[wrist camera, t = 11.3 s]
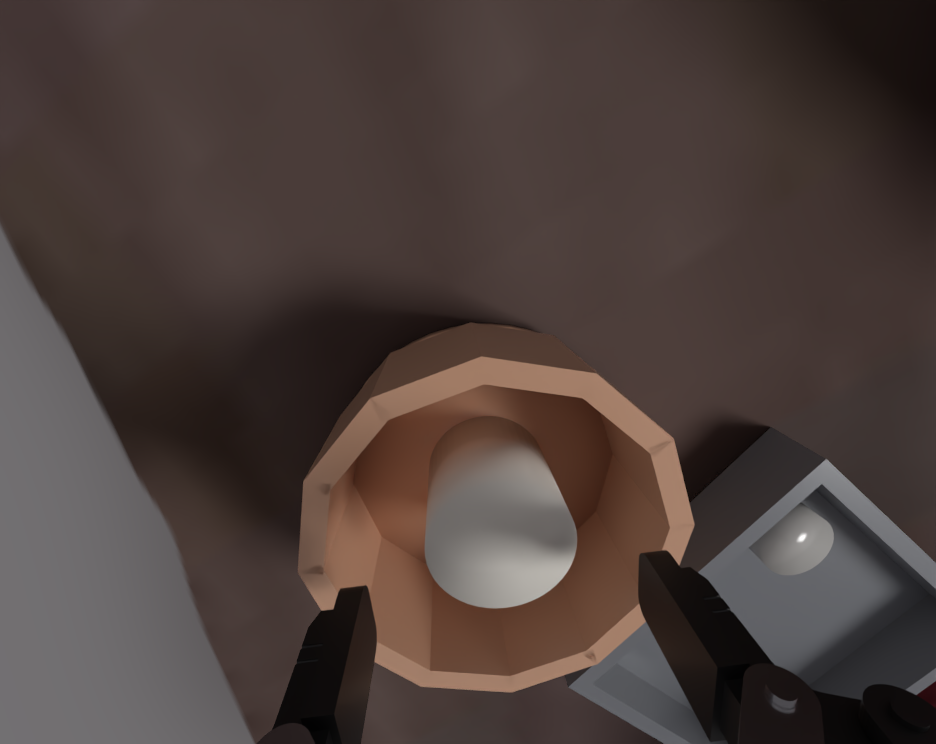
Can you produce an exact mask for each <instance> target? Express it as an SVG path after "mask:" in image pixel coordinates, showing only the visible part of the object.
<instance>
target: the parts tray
mask: <svg viewBox="0 0 936 744" xmlns="http://www.w3.org/2000/svg"><path fill="white" fill-rule="evenodd" d="M800 502H801V503H803V504H804V505H806V506H807V507H808V508H810V509H811V510H812V511H814V512H815V513H816V514H818V515H819V516H821V517H822V518H823V519H825V520H826V521H827V522H828V523H829V524H830V525H831V527H832V529H833V533H834V540H833V544H832V547H831V549H830V551H829V553H828V554H827V556H826V557H825V558H824V559H823V560H822V561H821V562H820V563H819V564H818V565H816V566H815V567H813V568H812V569H810V570H808V571H806V572H803V573H800V574H796V575H780V574H777V573H775V572H773V571H771V570H770V569H769V568H768V567H767V566H766V565H765V564H764V563H763V562H762V561H761V560H760V559H759V558H758V557H757V556H756V555H755V554H754V553H753V552H752V551H751V550H750V549H749V547H750V546H751V545H752V544H753V543H755V542H756V541H757V540H758V539H759V538H760V537H761V536H763V535H764V534H765V533H766V532H767V531H768V530H769V529H771V528H772V527H773V526H774V525H775V524H776V523H777V522H779V521H780V520H781V519H782V518H783V517H784V516H785V515H787V514H788V513H789V512H790V511H791V510H792V509H794V508H795V507H796V506H797V505H798V504H799V503H800ZM690 507H691V512H692V516H693V520H694V524H695V525H694V528H693V531H692V533H691V536H690V539H689V541H688V544H687V547H686V549H685V552H684V555H683V557H682V560H681V563H680V565H679V566H680V567H681V568H685V567H691V568H692V569H694V570H695V571H697V572H698V573H699V574H701V575H702V576H704V577H705V578H706V579H708V580H709V582H710V583H711V584H712V586H713V587H714V588H715V589H716V591H717V592H718V593H719V595H720V597H721V599H722V598H723V600H724V601H725V602H726V604H727V605H728V606H729V607H730V610H731V612H734V614H735V615H736V616H737V618H738V619H739V620H740V621H741V623H742V624H743V625H744V627H745V628H746V629H747V630H748V632H749V633H750V634H751V636H752V637H753V638H754V639H755V641H756V642H757V643H758V645H759V646H760V647H761V648H762V650H763V651H764V652H765V654H766V655H767V656H768V657H769V659H770V660H771V661H772V662H773V663H774V665H776V666H779V667H782V668H784V669H786V670H788V671H790V672H792V673H794V674H795V675H797V676H798V677H799V678H801V679H802V680H803V681H804V682H805V683H806V684H807V685H808V686H809V687H810V688H811V689H812V690H815V691H819V692H823V693H827V694H833V695H838V696H844V697H849V698H854V699H860V700H861V699H862V695H863V692H864V690H865V689H866V688H867V687H868V686H871V685H874V684H887V685H892V686H896V687H899V688H902V689H904V690H907V691H909V692H911V693H913V694H915V695H917V694H918V693H920V692H921V691H923V690H924V689H925V688H927V687H928V686H930V685H931V684H932V683H934V682H935V681H936V563H935V562H934V561H933V560H932V559H931V558H930V557H929V556H928V555H927V554H926V553H925V552H924V551H922V550H921V549H920V548H919V547H918V546H917V545H916V544H915V543H914V542H913V541H912V540H911V539H910V538H909V537H908V536H907V535H906V534H905V533H904V532H902V531H901V530H900V529H899V528H898V527H897V526H896V525H895V524H894V523H893V522H892V521H891V520H890V519H889V518H888V517H887V516H886V515H885V514H884V513H882V512H881V511H880V510H879V509H878V508H877V507H876V506H875V505H874V504H873V503H872V502H871V501H870V500H869V499H868V498H867V497H866V496H865V495H863V494H862V493H861V492H860V491H859V490H858V489H857V488H856V487H855V486H854V485H853V484H852V483H851V482H850V481H849V480H848V479H847V478H846V477H845V476H843V475H842V474H841V473H840V472H839V471H838V470H837V469H836V468H835V467H834V466H833V465H832V464H831V463H830V462H829V461H828V460H827V459H825V458H823V457H822V456H820V455H818V454H817V453H815V452H813V451H811V450H810V449H808V448H806V447H804V446H803V445H801V444H799V443H798V442H796V441H794V440H792V439H791V438H789V437H787V436H786V435H784V434H782V433H780V432H779V431H777V430H775V429H773V428H772V427H771V428H769V429H768V430H767V431H766V432H765V433H764V434H763V435H762V436H761V437H760V438H759V439H758V440H757V441H756V442H754V443H753V444H752V445H751V446H750V447H749V448H748V449H747V450H746V451H745V452H744V453H743V454H742V455H741V456H739V457H738V458H737V459H736V460H735V461H734V462H733V463H732V464H731V465H730V466H729V467H728V468H727V469H725V470H724V471H723V472H722V473H721V474H720V475H719V476H718V477H717V478H716V479H715V480H714V481H713V482H712V483H710V484H709V485H708V486H707V487H706V488H705V489H704V490H703V491H702V492H701V493H700V494H699V495H698V496H697V497H695V498H694V499H693V500H692V501H691V502H690ZM565 677H566V681H567V685H568V687H569V688H571V689H572V690H574V691H576V692H577V693H579V694H581V695H582V696H584V697H586V698H587V699H589V700H591V701H593V702H594V703H596V704H598V705H599V706H601V707H603V708H604V709H606V710H608V711H610V712H611V713H613V714H615V715H616V716H618V717H620V718H621V719H623V720H625V721H626V722H628V723H630V724H632V725H633V726H635V727H637V728H638V729H640V730H642V731H643V732H645V733H647V734H649V735H650V736H652V737H654V738H655V739H657V740H659V741H660V742H662V743H664V744H728V742H727V741H726V740H724V741H716V742H710V741H709V739H708V737H707V735H706V733H705V732H704V730H703V728H702V726H701V724H700V722H699V720H698V718H697V717H696V715H695V713H694V711H693V709H692V707H691V705H690V703H689V702H688V700H687V698H686V696H685V694H684V692H683V690H682V688H681V686H680V685H679V683H678V681H677V679H676V677H675V675H674V673H673V671H672V670H671V668H670V666H669V664H668V662H667V660H666V658H665V656H664V654H663V653H662V651H661V649H660V647H659V645H658V643H657V641H656V639H655V638H654V636H653V634H652V632H651V630H650V628H649V626H648V624H647V622H645V623H644V624H643V625H642V626H640V627H639V628H638V629H637V630H636V631H635V632H634V633H632V634H631V635H630V636H629V637H628V638H627V639H626V640H624V641H623V642H622V643H621V644H620V645H619V646H618V647H617V648H615V649H614V650H613V651H612V652H611V653H610V654H609V655H607V656H606V657H605V658H604V659H603V660H602V661H601V662H600V663H598V664H596V665H593V666H590V667H587V668H584V669H581V670H578V671H575V672H572V673H569V674H566V675H565Z"/></svg>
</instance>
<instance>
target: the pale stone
mask: <svg viewBox="0 0 936 744" xmlns="http://www.w3.org/2000/svg"><path fill="white" fill-rule="evenodd" d="M576 549H577V531H576V527H575V523H574V521H573V518H572V516H571V514H570V512H569V510H568V507H567V505H566V503H565V501H564V499H563V497H562V494H561V492H560V490H559V488H558V486H557V484H556V481H555V479H554V477H553V475H552V473H551V471H550V468H549V466H548V464H547V462H546V460H545V458H544V455H543V453H542V451H541V449H540V447H539V445H538V443H537V441H536V440H535V438H534V437H533V436H532V434H531V433H530V432H529V431H528V430H527V429H525V428H524V427H523V426H521V425H520V424H518V423H516V422H514V421H512V420H509V419H506V418H502V417H496V416H481V417H475V418H471V419H468V420H465V421H463V422H461V423H459V424H457V425H455V426H454V427H452V428H451V429H450V430H448V431H447V432H446V433H445V434H444V435H443V436H442V437H441V438H440V440H439V441H438V442H437V444H436V446H435V447H434V449H433V452H432V454H431V458H430V464H429V478H428V496H427V514H426V532H425V558H426V563H427V566H428V569H429V571H430V573H431V575H432V577H433V578H434V580H435V581H436V582H437V584H438V585H439V586H440V587H441V588H442V589H443V590H444V591H445V592H447V593H448V594H450V595H451V596H452V597H454V598H456V599H458V600H460V601H462V602H464V603H467V604H470V605H474V606H478V607H484V608H508V607H514V606H518V605H522V604H525V603H528V602H530V601H533V600H535V599H537V598H539V597H541V596H542V595H544V594H545V593H547V592H548V591H550V590H551V589H552V588H553V587H555V586H556V585H557V584H558V583H559V582H560V581H561V580H562V579H563V577H564V576H565V574H566V573H567V572H568V570H569V568H570V566H571V564H572V562H573V560H574V557H575V553H576Z"/></svg>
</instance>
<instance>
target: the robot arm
mask: <svg viewBox="0 0 936 744" xmlns="http://www.w3.org/2000/svg"><path fill="white" fill-rule="evenodd" d="M638 599H639V604H640V608H641V611H642V614H643V616H644V619H645V621H646V622H647V624H648V626H649V628H650V630H651V632H652V634H653V636H654V638H655V639H656V641H657V643H658V645H659V647H660V649H661V651H662V653H663V654H664V656H665V658H666V660H667V662H668V664H669V666H670V668H671V670H672V671H673V673H674V675H675V677H676V679H677V681H678V683H679V685H680V686H681V688H682V690H683V692H684V694H685V696H686V698H687V700H688V702H689V703H690V705H691V707H692V709H693V711H694V713H695V715H696V717H697V718H698V720H699V722H700V724H701V726H702V728H703V730H704V732H705V733H706V735H707V737H708V739H709V741H710V742H716V741H724V740H726V741H727V742H728V744H936V708H935V707H933V706H932V705H931V704H930V703H928V702H927V701H925V700H924V699H922V698H920V697H919V696H917V695H915V694H913V693H911V692H909V691H907V690H904V689H902V688H899V687H896V686H892V685H887V684H874V685H871V686H868V687H867V688H866V689H865V690H864V692H863V695H862V699H861V700H860V699H854V698H849V697H844V696H838V695H833V694H827V693H823V692H819V691H815V690H812V689H811V688H810V687H809V686H808V685H807V684H806V683H805V682H804V681H803V680H802V679H801V678H799V677H798V676H797V675H795V674H794V673H792V672H790V671H788V670H786V669H784V668H782V667H779V666H776V665H774V663H773V662H772V661H771V660H770V659H769V657H768V656H767V655H766V654H765V652H764V651H763V650H762V648H761V647H760V646H759V645H758V643H757V642H756V641H755V639H754V638H753V637H752V636H751V634H750V633H749V632H748V630H747V629H746V628H745V627H744V625H743V624H742V623H741V621H740V620H739V619H738V618H737V616H736V615H735V614H734V612H731V610H730V607H729V606H728V605H727V604H726V602H725V601H724V600H723V598H722V599H721V597H720V595H719V593H718V592H717V591H716V589H715V588H714V587H713V586H712V584H711V583H710V582H709V580H708V579H706V578H705V577H704V576H702V575H701V574H699V573H698V572H697V571H695V570H694V569H692V568H691V567H685V568H681V567H680V566H679V565H678V563H677V562H676V561H675V559H674V558H673V556H672V555H671V554H670V553H669V552H668V551H667V550H662V551H654V552H646V553H640V555H639V571H638ZM376 647H377V630H376V623H375V618H374V613H373V608H372V604H371V599H370V594H369V589H368V587H367V586H366V585H364V586H356V587H347V588H341V589H340V590H339V592H338V595H337V598H336V602H335V605H334V608H333V609H331V610H323V611H321V612H320V613H319V614H318V616H317V617H316V618H315V620H314V621H313V622H312V623H311V625H310V626H309V627H308V630H307V633H306V636H305V639H304V642H303V644H302V649H301V650H300V653H299V656H298V659H297V664H296V665H295V667H294V670H293V673H292V676H291V679H290V682H289V684H288V687H287V690H286V693H285V696H284V699H283V701H282V704H281V707H280V710H279V713H278V716H277V719H276V721H275V724H274V726H273V729H272V730H271V731H270V732H268V733H267V734H266V735H265V736H264V737H263V738H262V739H261V740H260V741H259V742H258V743H257V744H361V739H362V733H363V727H364V721H365V714H366V708H367V702H368V696H369V690H370V684H371V678H372V672H373V666H374V660H375V654H376Z"/></svg>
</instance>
